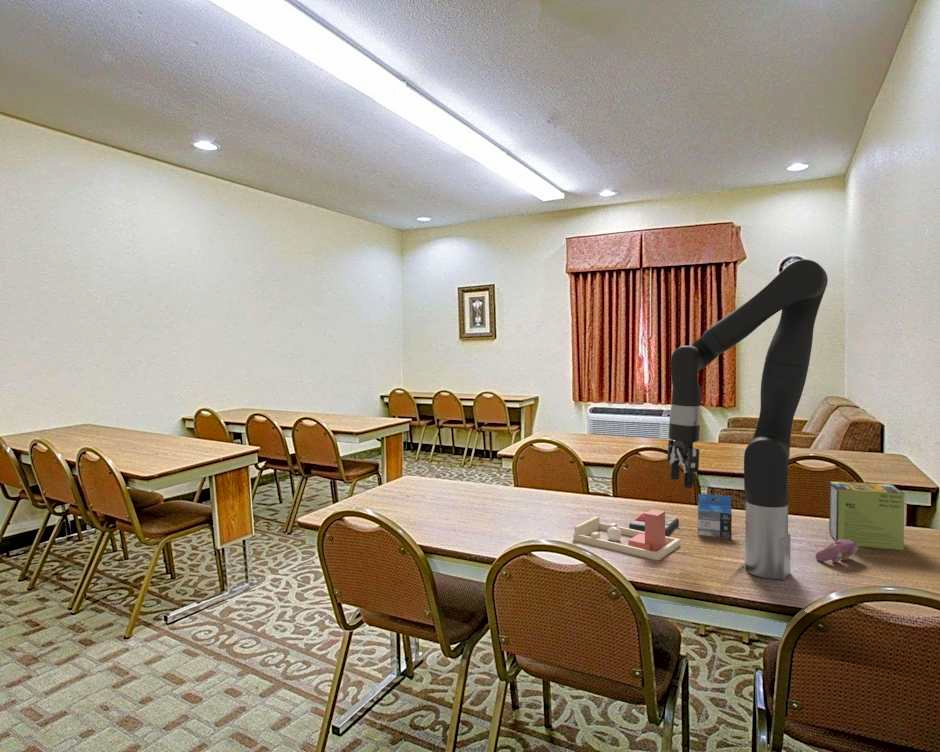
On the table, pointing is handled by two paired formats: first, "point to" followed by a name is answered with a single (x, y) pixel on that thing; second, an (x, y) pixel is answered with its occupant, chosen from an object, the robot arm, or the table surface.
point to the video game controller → (837, 551)
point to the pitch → (595, 525)
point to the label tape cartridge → (715, 516)
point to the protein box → (867, 514)
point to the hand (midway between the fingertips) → (680, 483)
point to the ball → (614, 533)
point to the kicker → (651, 532)
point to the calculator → (670, 524)
